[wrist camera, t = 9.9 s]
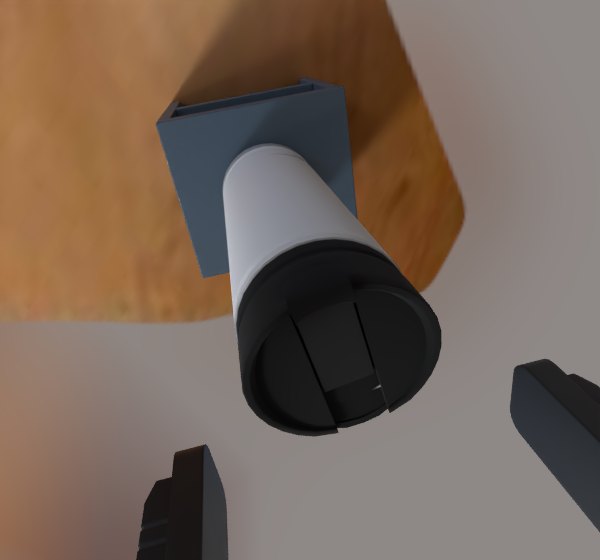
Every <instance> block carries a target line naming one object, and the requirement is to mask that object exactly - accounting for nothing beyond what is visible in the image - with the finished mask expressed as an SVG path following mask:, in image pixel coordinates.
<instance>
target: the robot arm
mask: <svg viewBox="0 0 600 560" xmlns="http://www.w3.org/2000/svg"><path fill="white" fill-rule="evenodd" d="M510 413H511V417H512V420H513V423H514V425H515V427H516V428H517V430H518V432H519V433H520V434H521V435H522V437H523V438H524V439H525V440H526V442H527V443H528V444H529V445H530V447H531V448H532V449H533V450H534V452H535V453H536V454H537V455H538V456H539V458H540V459H541V460H542V461H543V463H544V464H545V465H546V466H547V467H548V469H549V470H550V471H551V473H552V474H553V475H554V476H555V477H556V479H557V480H558V481H559V482H560V484H561V485H562V486H563V487H564V488H565V490H566V491H567V492H568V493H569V495H570V496H571V497H572V498H573V500H574V501H575V502H576V503H577V505H578V506H579V507H580V508H581V510H582V511H583V512H584V513H585V514H586V516H587V517H588V518H589V519H590V521H591V522H592V523H593V524H594V526H595V527H596V528H597V529H598V531H599V532H600V387H599V386H597V385H595V384H594V383H592V382H590V381H588V380H586V379H584V378H582V377H580V376H578V375H576V374H570V375H566V374H565V373H564V372H563V371H562V370H561V369H560V368H559V367H558V366H557V365H556V364H554V363H553V362H552V361H550V360H548V359H542V360H538V361H534V362H530V363H526V364H522V365H518V366H516V367H515V369H514V374H513V384H512V393H511V404H510ZM141 528H142V531H141V532H140V539H139V545H138V547H139V551H138V552H137V559H136V560H228V535H227V508H226V499H225V493H224V489H223V485H222V482H221V479H220V477H219V474H218V471H217V469H216V466H215V464H214V461H213V458H212V456H211V453H210V450H209V448H208V446H207V445H206V444H205V445H202V446H198V447H194V448H190V449H186V450H182V451H179V452H176V453H175V455H174V461H173V472H172V477H171V478H167V479H163V480H159V481H157V482H156V483H155V485H154V487H153V488H152V490H151V492H150V494H149V496H148V498H147V500H146V502H145V504H144V511H143V518H142V525H141Z"/></svg>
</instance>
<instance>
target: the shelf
mask: <svg viewBox="0 0 600 560" xmlns="http://www.w3.org/2000/svg"><path fill="white" fill-rule="evenodd" d="M299 82H300V84H298V85H293V86H288V87H283V88H277V89H272V90H267V91H262V92H257V93H251V94H246V95H241V96H236V97H230V98H225V99H220V100H215V101H209V102H204V103H199V104H194V105H189V106H183V107H181V103H180V101H179V102H173V103H171V104H170V105H169V106H168V108H167V109H166V110H165V112H164V113H163V114H162V116H161V117H160V118H159V120H158V121H157V122H156V127H157V130H158V133H159V137H160V140H161V143H162V146H163V150H164V153H165V156H166V160H167V163H168V166H169V169H170V173H171V176H172V179H173V182H174V186H175V189H176V192H177V196H178V199H179V202H180V205H181V209H182V212H183V215H184V219H185V222H186V225H187V228H188V232H189V235H190V238H191V241H192V245H193V248H194V251H195V255H196V258H197V261H198V264H199V268H200V271H201V274H202V277H203V278H206V277H211V276H215V275H220V274H224V273H229V272H230V269H229V257H228V246H227V235H226V223H225V212H224V201H223V180H224V177H225V174H226V171H227V169H228V167H229V166H230V164H231V163H232V161H233V160H234V159H235V158H236V157H237V156H238V155H239V154H240V153H242V152H243V151H244V150H246V149H248V148H250V147H252V146H255V145H259V144H266V143H274V144H281V145H283V146H286V147H289V148H291V149H292V150H294V151H296V152H297V153H298V154H299V155H300V156H302V157H303V158H304V159H305V161H306V162H307V163H308V164H309V165H310V166H311V167H312V169H313V170H314V171H315V172H316V173H317V174H318V175H319V177H320V178H321V179H322V180H323V181H324V182H325V183H326V185H327V186H328V187H329V188H330V189H331V190H332V191H333V193H334V194H335V195H336V196H337V197H338V198H339V199H340V201H341V202H342V203H343V204H344V205H345V206H346V207H347V209H348V210H349V211H350V212H351V213H352V214H353V215H354V217H355V218H356V219H357V209H356V199H355V189H354V179H353V169H352V159H351V149H350V140H349V130H348V120H347V110H346V100H345V90H344V87H342V86H338V85H335V84H331V83H327V82H323V81H320V80H316V79H312V78H308V77H305V78H300V79H299ZM357 220H358V219H357Z"/></svg>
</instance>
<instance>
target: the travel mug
mask: <svg viewBox="0 0 600 560" xmlns="http://www.w3.org/2000/svg"><path fill="white" fill-rule="evenodd" d="M223 201H224V212H225V223H226V235H227V246H228V257H229V269H230V280H231V291H232V303H233V313H234V325H235V333H236V340H237V343H238V350H239V360H240V371H241V381H242V390H243V394H244V396H245V399H246V401H247V403H248V405H249V407H250V408H251V409H252V410H253V412H254V413H255V414H256V415H257V416H258V417H259V418H260V419H262V420H263V421H264V422H266V423H267V424H268V425H270V426H272V427H274V428H277V429H279V430H281V431H284V432H288V433H292V434H296V435H303V436H321V435H327V434H334V433H338V430H337V428H347V427H351V426H354V425H357V424H360V423H364V422H366V421H368V420H370V419H372V418H374V417H376V416H379V415H380V414H381V413H383V412H384V411H385V410H386V409H388V410H389V412H390V413H391V412H392V411H394V410H395V409H397V408H398V407H400V406H401V405H403V404H405V403H406V402H408V401H409V400H411V399H412V398H413V396H414V395H415V394H416V393H417V392H418V391H419V390H420V389H421V388H422V387H423V385H424V384H425V383H426V381H427V380H428V378H429V377H430V376H431V374H432V372H433V370H434V368H435V365H436V363H437V361H438V358H439V353H440V349H441V329H440V325H439V322H438V318H437V316H436V315H435V313H434V312H433V310H432V308H431V307H430V305H429V304H428V303H427V302H426V301H425V299H424V298H423V297H422V296H421V295H420V294H419V293H418V291H417V290H416V289H415V288H414V287H413V286H412V284H411V283H410V282H409V281H408V280H407V279H406V278H405V277H404V276H403V274H402V273H401V271H400V270H399V268H398V267H397V265H396V264H395V262H394V261H393V260H392V259H391V258H390V257H389V256H388V255H387V253H386V252H385V251H384V250H383V248H382V247H381V246H380V245H379V244H378V243H377V242H376V240H375V239H374V238H373V237H372V236H371V235H370V234H369V232H368V231H367V230H366V229H365V228H364V227H363V226H362V225H361V223H360V222H359V221H358V220H357V219H356V218H355V217H354V215H353V214H352V213H351V212H350V211H349V210H348V209H347V207H346V206H345V205H344V204H343V203H342V202H341V201H340V199H339V198H338V197H337V196H336V195H335V194H334V193H333V191H332V190H331V189H330V188H329V187H328V186H327V185H326V183H325V182H324V181H323V180H322V179H321V178H320V177H319V175H318V174H317V173H316V172H315V171H314V170H313V169H312V167H311V166H310V165H309V164H308V163H307V162H306V161H305V159H304V158H303V157H302V156H300V155H299V154H298V153H297V152H296V151H294V150H292V149H291V148H289V147H286V146H283V145H281V144H274V143H266V144H259V145H255V146H252V147H250V148H248V149H246V150H244V151H243V152H242V153H240V154H239V155H238V156H237V157H236V158H235V159H234V160H233V161H232V163H231V164H230V166H229V167H228V169H227V171H226V174H225V177H224V180H223Z"/></svg>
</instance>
